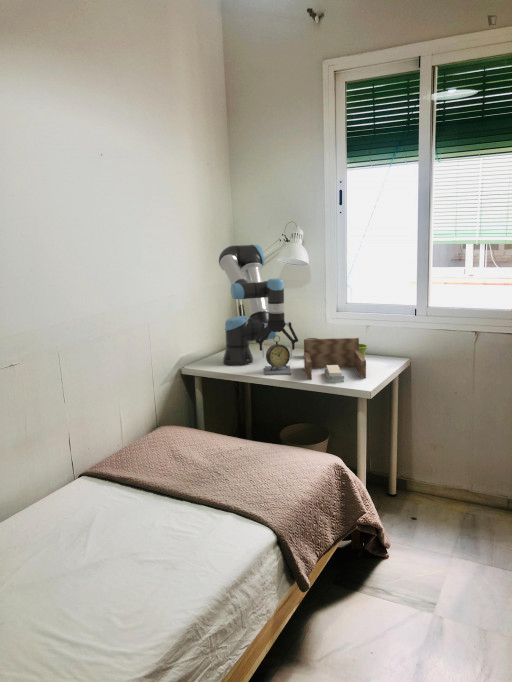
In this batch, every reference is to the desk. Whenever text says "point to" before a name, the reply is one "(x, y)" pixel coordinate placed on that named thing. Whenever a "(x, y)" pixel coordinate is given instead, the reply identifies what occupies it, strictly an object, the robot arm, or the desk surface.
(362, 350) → the plant pot
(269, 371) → the mat
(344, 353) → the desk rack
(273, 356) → the alarm clock
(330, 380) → the book stack
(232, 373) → the desk surface
